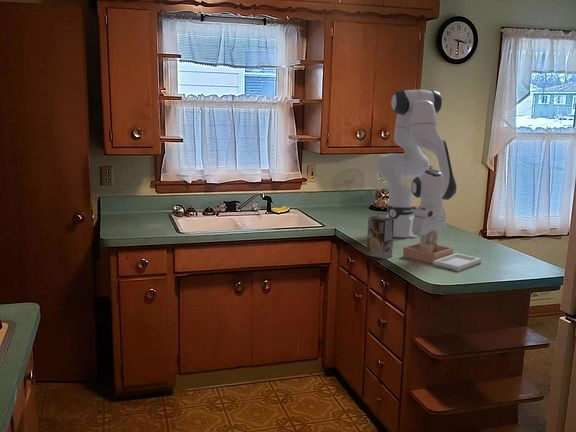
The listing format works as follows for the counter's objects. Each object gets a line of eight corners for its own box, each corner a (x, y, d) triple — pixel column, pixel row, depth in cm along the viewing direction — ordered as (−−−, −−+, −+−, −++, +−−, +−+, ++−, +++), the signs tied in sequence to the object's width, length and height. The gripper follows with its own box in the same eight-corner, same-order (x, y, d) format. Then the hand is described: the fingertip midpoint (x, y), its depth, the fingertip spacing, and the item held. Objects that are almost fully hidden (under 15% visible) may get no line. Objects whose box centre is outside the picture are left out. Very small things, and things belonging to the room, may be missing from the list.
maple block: (425, 251, 250) (427, 228, 248) (436, 253, 246) (438, 230, 244) (419, 253, 246) (421, 230, 244) (429, 256, 243) (431, 232, 241)
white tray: (456, 257, 246) (456, 253, 246) (480, 263, 238) (481, 258, 238) (432, 265, 234) (433, 260, 233) (458, 271, 226) (458, 266, 226)
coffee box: (392, 256, 246) (395, 218, 243) (383, 259, 241) (385, 220, 238) (375, 252, 252) (377, 215, 249) (365, 254, 248) (367, 217, 245)
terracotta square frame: (422, 250, 256) (422, 241, 256) (452, 257, 246) (453, 248, 246) (403, 256, 246) (403, 247, 246) (433, 263, 236) (434, 253, 235)
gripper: (437, 206, 252) (435, 237, 255) (410, 211, 238) (408, 245, 241) (451, 208, 248) (448, 240, 251) (424, 214, 233) (421, 248, 236)
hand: (428, 242), depth 245 cm, fingers closed on maple block, 5 cm apart
